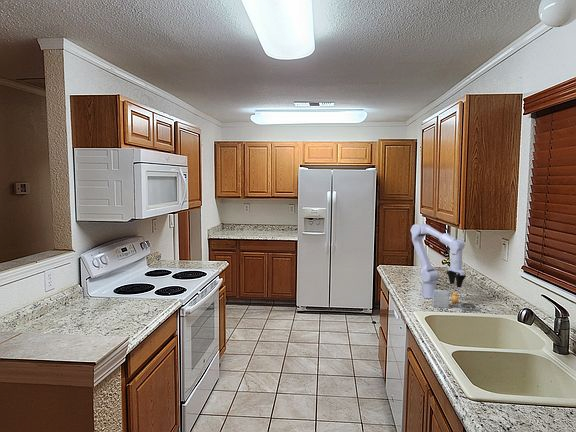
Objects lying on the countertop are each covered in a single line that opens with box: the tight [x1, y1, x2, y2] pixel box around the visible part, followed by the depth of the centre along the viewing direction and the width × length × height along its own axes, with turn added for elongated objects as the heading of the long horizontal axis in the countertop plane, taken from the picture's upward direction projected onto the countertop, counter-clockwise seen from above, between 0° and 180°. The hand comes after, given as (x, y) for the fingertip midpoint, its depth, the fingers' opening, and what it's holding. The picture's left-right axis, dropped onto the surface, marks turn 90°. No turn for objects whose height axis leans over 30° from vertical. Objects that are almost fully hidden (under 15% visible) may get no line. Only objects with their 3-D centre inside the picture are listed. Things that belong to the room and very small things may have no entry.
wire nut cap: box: [451, 292, 459, 305], centre depth 219 cm, size 3×3×6 cm
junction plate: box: [455, 302, 482, 312], centre depth 211 cm, size 10×9×2 cm
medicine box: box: [432, 289, 450, 309], centre depth 213 cm, size 8×4×9 cm, turn 74°
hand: (455, 285), depth 218 cm, fingers open, 7 cm apart
